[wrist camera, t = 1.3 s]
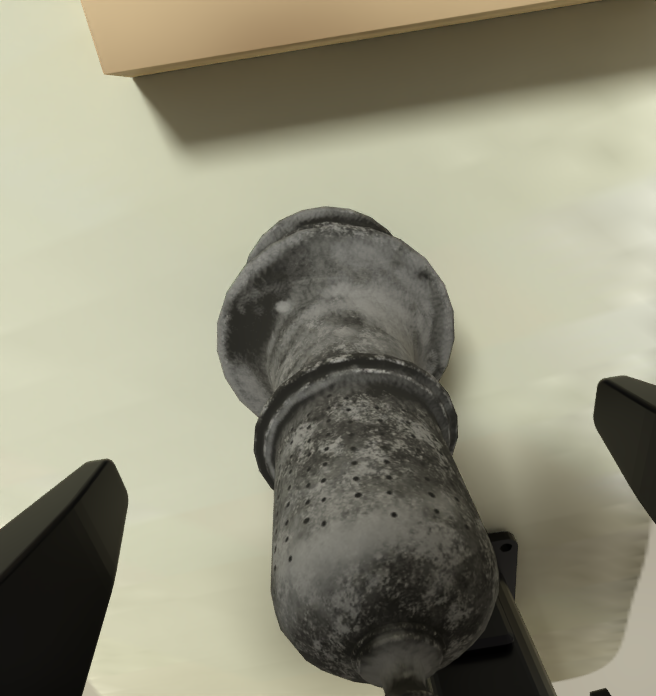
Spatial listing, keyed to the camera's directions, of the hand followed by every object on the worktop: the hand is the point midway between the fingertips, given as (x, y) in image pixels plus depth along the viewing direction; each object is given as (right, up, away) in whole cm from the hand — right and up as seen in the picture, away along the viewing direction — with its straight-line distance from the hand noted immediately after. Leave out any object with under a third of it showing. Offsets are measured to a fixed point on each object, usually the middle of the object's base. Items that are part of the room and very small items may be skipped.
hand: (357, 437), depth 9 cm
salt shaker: (-1, +3, +6) cm, 7 cm away
